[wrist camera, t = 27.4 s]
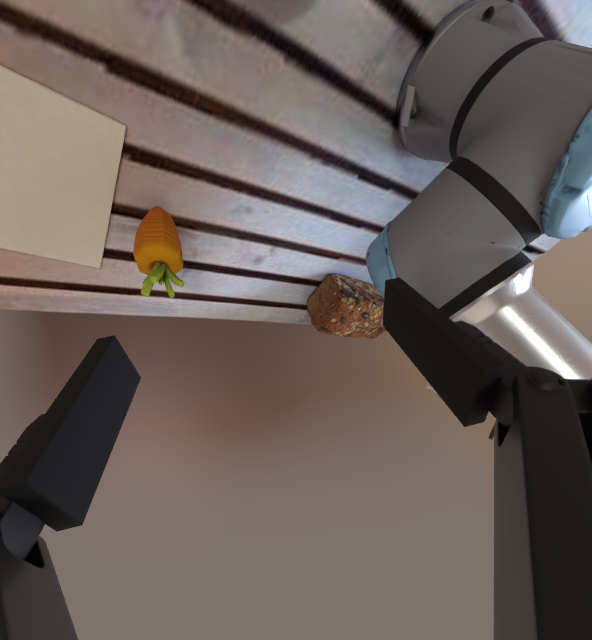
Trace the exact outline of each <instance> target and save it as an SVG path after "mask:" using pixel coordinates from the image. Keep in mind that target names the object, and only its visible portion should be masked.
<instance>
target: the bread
mask: <svg viewBox="0 0 592 640" xmlns="http://www.w3.org/2000/svg"><path fill="white" fill-rule="evenodd" d="M307 307H308V311H307V312H308V313H309V316H310V318H311V323H312V324H313V325H314V326H315V328H316V329H317V331H318V332H320V333H325V334H328V335H336V336H344V337H355V338H356V337H358V338H367V339H371V338H375V337H377V336H378V335H380V334H381V333H383V332H384V331H386V329H385V327H384V326H383V308H384V299H383V297H382V296H381V294H380V293H379V291H378V290H377V288H376V286H375V285H372V284H370V283H366V282H363V281H360V280H357V279H352V278H351V277H347V276H344V275H340V274H334V273H332V274H331V275H329V276H328V277H326V278H325V279H324V280H323V282H322V283H321V284H320V285H319V286H318V288H317V289H316V290H314V292H313V293H312V294H311V296H310V297H309V298H308V301H307Z"/></svg>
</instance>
